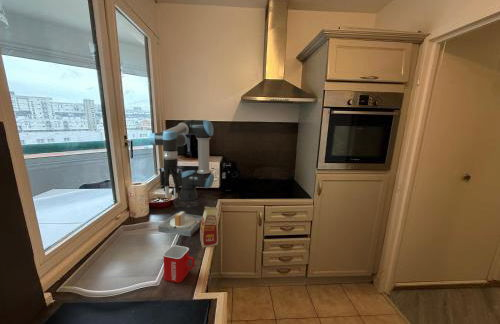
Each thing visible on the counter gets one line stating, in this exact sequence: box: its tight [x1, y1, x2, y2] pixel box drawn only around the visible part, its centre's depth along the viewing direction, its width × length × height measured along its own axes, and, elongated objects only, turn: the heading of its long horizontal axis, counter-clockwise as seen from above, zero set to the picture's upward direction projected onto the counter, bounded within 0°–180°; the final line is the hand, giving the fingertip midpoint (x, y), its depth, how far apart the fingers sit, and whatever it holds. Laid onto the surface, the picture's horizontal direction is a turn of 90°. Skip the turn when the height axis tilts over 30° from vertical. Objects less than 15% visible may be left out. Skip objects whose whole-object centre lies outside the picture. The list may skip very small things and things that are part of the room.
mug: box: [162, 245, 195, 284], centre depth 88 cm, size 12×8×11 cm
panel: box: [157, 212, 203, 237], centre depth 131 cm, size 20×20×4 cm
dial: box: [170, 211, 196, 228], centre depth 131 cm, size 15×15×7 cm
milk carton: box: [199, 206, 219, 249], centre depth 114 cm, size 9×9×20 cm
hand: (171, 197), depth 127 cm, fingers open, 5 cm apart
